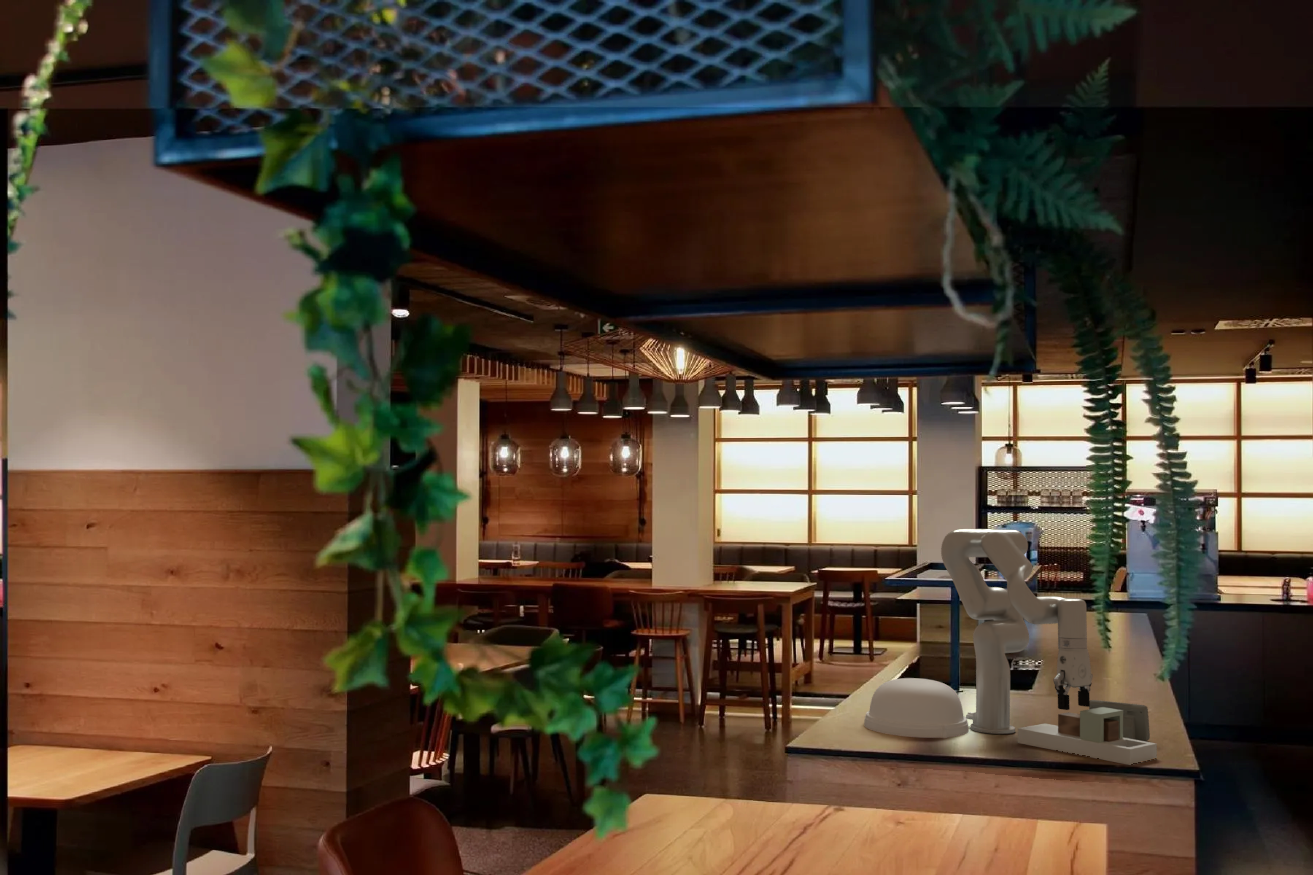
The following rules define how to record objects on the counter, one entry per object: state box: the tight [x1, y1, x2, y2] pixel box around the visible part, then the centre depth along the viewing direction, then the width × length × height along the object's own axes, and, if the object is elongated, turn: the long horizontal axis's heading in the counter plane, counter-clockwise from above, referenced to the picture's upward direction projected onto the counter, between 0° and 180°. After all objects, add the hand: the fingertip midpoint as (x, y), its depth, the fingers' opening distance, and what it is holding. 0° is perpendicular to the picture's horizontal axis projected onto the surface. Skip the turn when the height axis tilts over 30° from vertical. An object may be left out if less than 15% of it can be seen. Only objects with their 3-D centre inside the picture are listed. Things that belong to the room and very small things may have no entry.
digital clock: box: [1088, 699, 1151, 742], centre depth 351 cm, size 16×9×11 cm, turn 46°
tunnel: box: [1079, 707, 1123, 743], centre depth 331 cm, size 6×11×7 cm, turn 129°
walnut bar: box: [1057, 711, 1119, 742], centre depth 334 cm, size 15×5×5 cm, turn 39°
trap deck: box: [1017, 723, 1158, 766], centre depth 334 cm, size 34×13×4 cm, turn 39°
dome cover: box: [863, 677, 969, 739], centre depth 363 cm, size 32×30×14 cm
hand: (1073, 707), depth 337 cm, fingers open, 9 cm apart
